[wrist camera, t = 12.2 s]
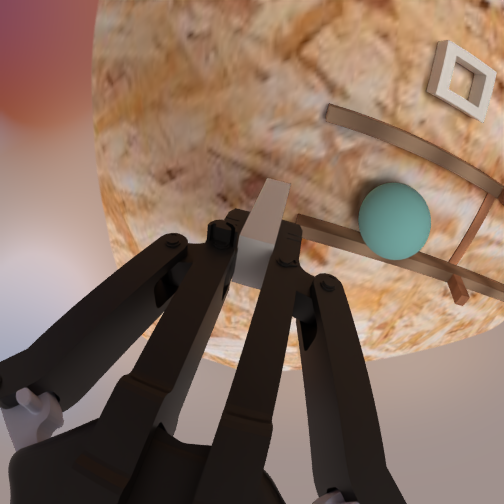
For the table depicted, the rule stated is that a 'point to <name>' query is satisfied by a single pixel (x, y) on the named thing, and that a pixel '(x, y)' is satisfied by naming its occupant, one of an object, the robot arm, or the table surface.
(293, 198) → the table surface
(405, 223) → the ball
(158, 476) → the robot arm
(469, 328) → the table surface
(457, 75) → the table surface
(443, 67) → the white square frame
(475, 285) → the lane
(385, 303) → the table surface
